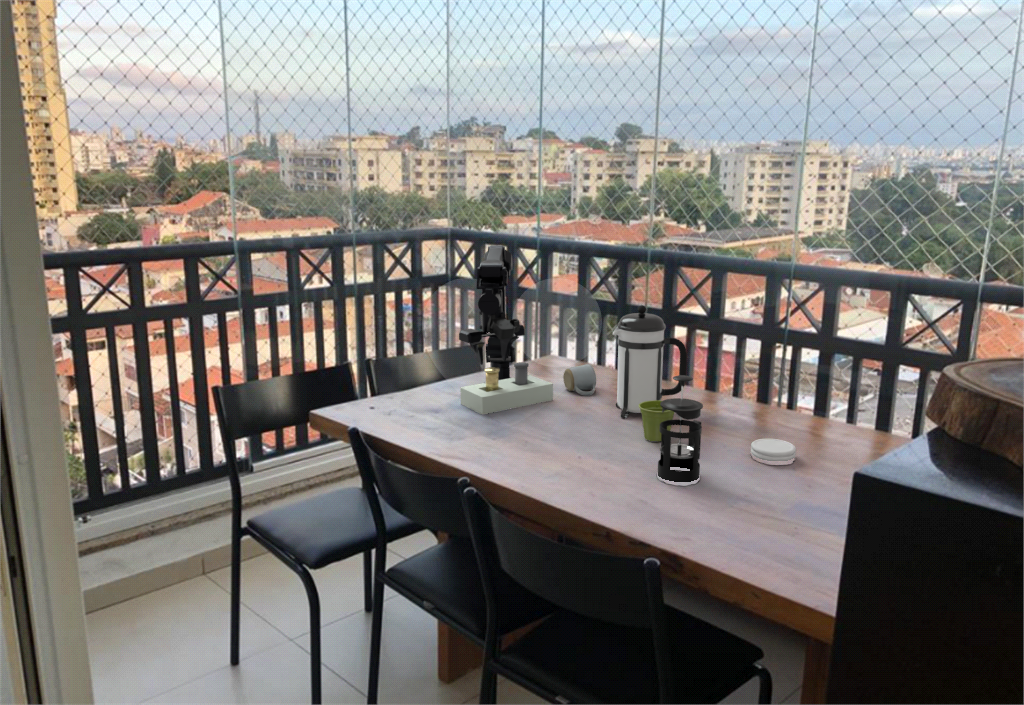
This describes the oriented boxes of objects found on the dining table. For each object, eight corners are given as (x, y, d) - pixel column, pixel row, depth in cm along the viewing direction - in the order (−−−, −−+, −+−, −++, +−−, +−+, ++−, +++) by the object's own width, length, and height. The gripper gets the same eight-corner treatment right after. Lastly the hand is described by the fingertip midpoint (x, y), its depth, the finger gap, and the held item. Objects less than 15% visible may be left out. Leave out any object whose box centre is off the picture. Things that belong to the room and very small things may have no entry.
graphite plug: (511, 388, 231) (511, 363, 229) (523, 386, 233) (523, 361, 231) (519, 392, 227) (519, 366, 225) (531, 389, 230) (531, 364, 228)
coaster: (765, 469, 178) (766, 454, 177) (741, 453, 188) (742, 440, 187) (804, 464, 181) (805, 450, 180) (778, 449, 190) (779, 435, 189)
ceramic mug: (561, 388, 242) (562, 364, 240) (585, 385, 245) (586, 361, 243) (576, 398, 232) (577, 373, 230) (601, 395, 235) (602, 370, 233)
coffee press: (645, 425, 207) (649, 313, 200) (600, 411, 219) (602, 305, 212) (685, 411, 218) (690, 304, 211) (640, 399, 230) (644, 297, 223)
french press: (680, 490, 166) (685, 385, 161) (645, 477, 173) (649, 376, 168) (713, 476, 174) (719, 375, 168) (679, 464, 181) (683, 367, 175)
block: (460, 404, 227) (460, 387, 225) (529, 390, 239) (529, 374, 238) (482, 414, 217) (482, 397, 216) (552, 400, 230) (553, 383, 228)
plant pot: (630, 439, 197) (631, 406, 195) (651, 429, 204) (652, 397, 202) (662, 448, 191) (663, 413, 189) (682, 438, 198) (684, 405, 196)
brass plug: (482, 394, 225) (481, 368, 224) (494, 392, 228) (494, 366, 226) (489, 397, 222) (489, 371, 220) (502, 395, 224) (502, 369, 222)
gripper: (478, 316, 207) (479, 373, 211) (536, 308, 217) (536, 363, 221) (457, 310, 216) (458, 365, 220) (513, 303, 226) (514, 355, 230)
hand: (492, 362), depth 223 cm, fingers open, 7 cm apart
